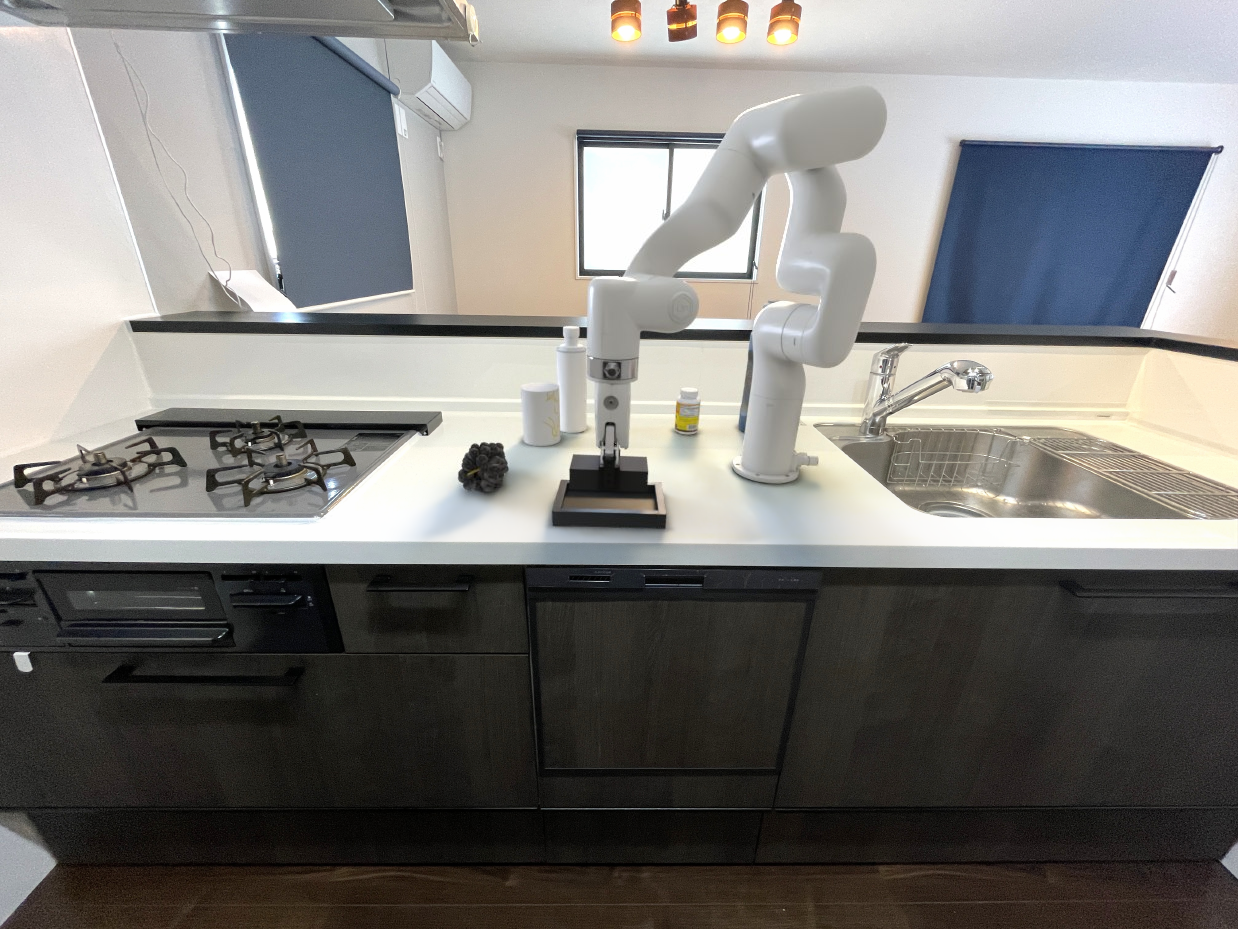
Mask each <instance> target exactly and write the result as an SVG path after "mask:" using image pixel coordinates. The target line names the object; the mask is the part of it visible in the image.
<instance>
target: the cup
mask: <svg viewBox="0 0 1238 929" xmlns="http://www.w3.org/2000/svg"><path fill="white" fill-rule="evenodd" d="M520 398H521V401H520V402H521V416H522V417H521V418H522V434H523V435H522V436H523V442H524V443H525V444H526V445H530V446H533V447H534V446H535V447H547V446H549V447H550V446H553V445H556V444H558V443H559V442H561V431H560V394H559V385H557V383H554V382H550V381H549V382H548V381H547V382H546V381H533V382H528V383H524V384H522V385H521V386H520Z"/></svg>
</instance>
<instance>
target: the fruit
mask: <svg viewBox="0 0 1238 929" xmlns="http://www.w3.org/2000/svg"><path fill="white" fill-rule="evenodd" d="M504 449H505V446H504V445H503V443H502V442H496V443H495V442H489V443H488V442H485V441H483V442H480V444H478V443H475V442H474V443H472V444H471V445H470V447H469V448H468V451H467V452H465V454H464V456H463V458H462V461H461V464H460V465H461V468H460V469H459V470H458V472H457V480H458V482H460V483H462V488H463V489H464V490H466V491H467V492H469V491H471V490H473V489H475V490H477V491H479V492H488V493H489V492H492V491H493V490H494V489H495V488H498V489H500V488H501V487H503V483H504V480H503V479H504V478H505V474H508V472H509V471H510V468H509V466H508V460H507V458H506V453H505V451H504Z"/></svg>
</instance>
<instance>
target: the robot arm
mask: <svg viewBox="0 0 1238 929" xmlns="http://www.w3.org/2000/svg"><path fill="white" fill-rule="evenodd" d="M885 101H886V100H885V99H884V97H883V95H882V94H881V93H880V92H879V91H878V90H877V89H875V88H874V87H873V86H869V85H857V86H851V87H844V88H839V89H832V90H831V89H830V90H824V91H816V92H808V93H801V94H795V95H790V96H787V97H783V98H780V99H777V100H774V101H771V102H767V103H763V104H760V105H757V106H755V107H752V108H750V109H747V110H746V111H744V112H742V113H741V114H740V115H738V116H737V118H735V120H734V121H733V122H732V124H731V125H730V126H729V128H728V130H727V131H726V133H725V135H724V137H723V138H722V139H721V142H720V143H719V145H718V147H717V148H716V150H715V152H714V153H713V155H712V157H711V158H710V160H709V162H708V164H707V165H706V167H705V169H704V170H703V172H702V174H701V176H700V177H699V178H698V181H697V182H696V184H695V186H694V187H693V189H692V190H691V192H690V194H689V196H688V197H687V199H686V200H685V201H684V202H683V203H682V204H681V205H680V206H678V208H677V209H676V210H674V211H673V212H672V213H671V214H670V215H669V216H668V217H667V218H665V220H664V221H663V222H662V223H661V224H660V225H659V226H658V227H657V228H656V229H655V230H654V231H653V232H652V233H651V234H650V235H649V236H648V237H647V238H646V240H645V241H644V242H643V243H642V244H641V246H640V247H639V248H638V250H637V252H636V253H635V254H634V257H632V260H631V262H630V263H629V265H628V267H627V268H626V270H625V272H624V274H622V277H621V276H620V277H619V276H598V277H595V278H592V279H591V280H590V281H589V283H588V285H587V291H586V292H587V294H586V295H587V296H586V297H587V298H586V300H587V301H586V302H587V303H586V364H587V380H589V381H591V382H594V434H595V445H596V447H597V448H598V449H600V453H599V455H600V465H599V475H598V489H599V490H608V491H618V490H619V481H620V466H618V463H619V456H621V449H624V450H628V449H629V448H630V430H631V429H630V425H631V403H632V385H631V384H632V383H635V382H637V381H638V379H639V363H640V345H641V343H640V341H641V332H643V331H644V332H656V333H663V334H664V333H665V334H673V333H674V334H675V333H679V332H682V331H683V330H685V329H687V328H689V326H691V325H692V324H693V323H694V322H695V320H696V318H697V316H698V313H699V311H700V310H699V309H700V300H699V295H698V293H697V291H696V290H695V288H694V287H693V286H692V285H691V284H690V283H688V282H687V281H685V280H684V279H681V278H677V277H674V276H675V275H676V273H678V271H679V270H680V269H681V268H682V267H684V265H685V264H687V263H688V262H690V261H691V260H692V259H694V258H696V257H697V256H699V255H701V254H703V253H704V252H707V251H710V250H712V249H713V248H715V247H717V246H719V245H721V244H722V243H724V242H726V241H727V240H729V239H731V238H732V237H733V236H734V235H736V234H737V232H738V231H739V229H740V227H741V226H742V224H743V222H744V220H745V219H746V217H747V215H749V212H750V210H751V209H752V207H753V206H754V204H755V202H756V200H757V199H758V197H759V196H760V194H761V193H762V191H763V189H764V188H765V186H766V184H767V182H768V181H769V179H770V178H771V177H772V176H775V175H781V174H785V177H786V179H787V182H788V187H789V190H790V206H789V211H788V215H787V216H788V217H787V221H786V225H785V230H784V232H783V237H782V238H783V239H782V241H781V246H780V251H779V254H778V259H777V262H776V263H777V264H776V270H775V280H776V283H777V285H778V287H779V288H780V289H781V290H783V291H785V292H788V293H791V294H795V295H801V296H802V295H803V296H809V297H810V296H811V297H820V299H819V304H818V305H817V304H811V303H805V302H804V303H803V302H797V301H788V302H776V303H773V304H770V305H768V306H766V307H765V308H764V309H763V308H762V309H761V310H760V311H759V312H758V314H757V315H756V317H755V319H754V322H753V327H752V331H751V333H752V341H753V358H754V359H753V375H752V384H751V391H750V398H749V405H748V413H747V420H746V428H745V432H744V437H743V443H742V450H741V451H742V452H741V455H738V456H736V457H735V458H734V459H733V460H732V469H733V471H734V472H735V473H736V474H737V475H739V476H740V477H743V478H745V479H747V480H750V481H754V482H758V483H763V484H764V483H765V484H787V483H790V482H793V481H795V480H797V479H798V477H799V476H800V474H799V473H800V468H801V467H802V466H808V467H818V465H819V460H820V459H819V456H818V455H808V453H807V452H806V451H805V452H801V451H799V452H798V451H796V450H795V449H796V442H797V437H798V431H799V427H800V422H801V421H800V420H801V416H802V415H801V414H802V408H803V403H804V398H805V394H806V387H807V378H806V372H805V368H804V365H805V366H806V365H807V366H810V367H816V368H820V369H831V368H836V367H837V366H839V365H841V364H842V363H843V362H844V361H845V360H846V359H847V358H848V356H849V355H850V353H851V352H852V349H853V347H854V345H855V342H856V340H857V336H858V333H859V330H860V327H861V324H862V320H863V317H864V314H865V310H866V307H867V304H868V301H869V297H870V294H871V290H872V287H873V284H874V280H875V276H876V272H877V252H876V249H875V245H874V244H873V242H872V240H871V239H870V238H869V237H868V236H866V235H864V234H862V233H859V232H851V231H850V232H846V231H845V232H841V229H842V226H843V225H842V224H843V220H844V217H845V211H846V207H847V200H848V199H847V197H848V196H847V189H846V185H845V182H844V179H843V178H842V176H841V173H840V171H839V169H838V168H837V165H838V164H843V163H847V162H853V161H857V160H860V159H863V158H864V157H865V156H867V155H869V154H870V153H871V152H872V151H873V150H874V149H875V148H876V147H877V145H878V144H879V143H880V141H881V139H882V137H883V135H884V133H885V130H886V126H887V120H888V110H887V104H886V102H885Z"/></svg>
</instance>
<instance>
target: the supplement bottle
mask: <svg viewBox="0 0 1238 929" xmlns="http://www.w3.org/2000/svg"><path fill="white" fill-rule="evenodd" d="M701 402H702V401H701V398H700V397H699V390H698V389H697V388H695V387H682V388H680V393H679V395H678V396H677V397H676V404H675V417H674V418H675V419H674V431H675V432H676V433H678V434H680V435H687V436H689V435H696V433H698V431H699V424H700V413H701Z"/></svg>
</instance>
